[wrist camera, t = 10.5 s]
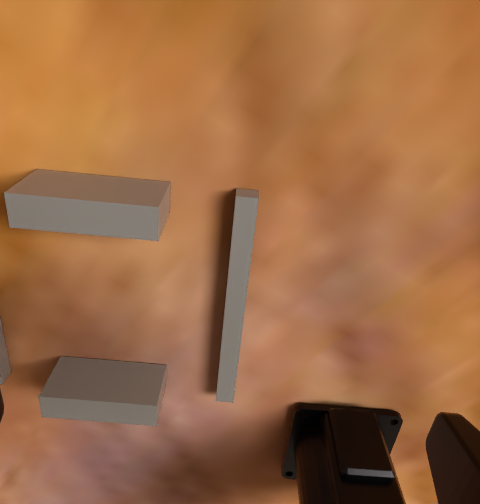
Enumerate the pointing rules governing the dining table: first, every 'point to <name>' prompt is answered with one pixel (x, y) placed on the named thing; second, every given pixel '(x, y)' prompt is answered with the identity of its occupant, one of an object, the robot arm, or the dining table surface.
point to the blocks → (134, 227)
